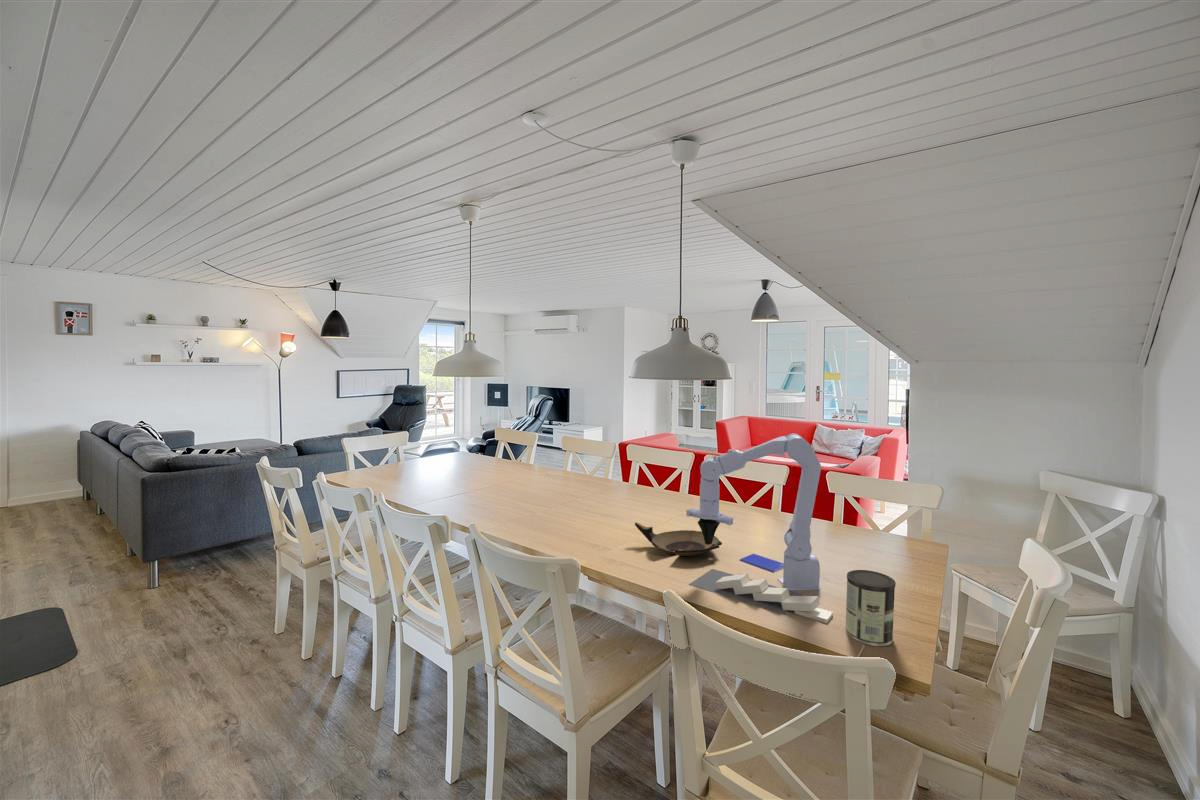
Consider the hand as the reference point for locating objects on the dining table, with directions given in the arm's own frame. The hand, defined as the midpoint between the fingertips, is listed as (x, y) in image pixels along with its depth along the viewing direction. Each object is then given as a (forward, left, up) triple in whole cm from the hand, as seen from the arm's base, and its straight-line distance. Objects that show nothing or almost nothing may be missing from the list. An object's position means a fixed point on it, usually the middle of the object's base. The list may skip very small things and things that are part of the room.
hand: (708, 543), depth 155 cm
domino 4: (-15, +21, -9) cm, 27 cm away
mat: (-8, +10, -10) cm, 16 cm away
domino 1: (-1, +7, -9) cm, 12 cm away
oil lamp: (+3, -23, -11) cm, 26 cm away
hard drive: (-21, -8, -11) cm, 25 cm away
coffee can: (-28, +36, -11) cm, 47 cm away
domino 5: (-17, +23, -10) cm, 30 cm away
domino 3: (-9, +15, -9) cm, 20 cm away
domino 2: (-5, +11, -9) cm, 15 cm away
